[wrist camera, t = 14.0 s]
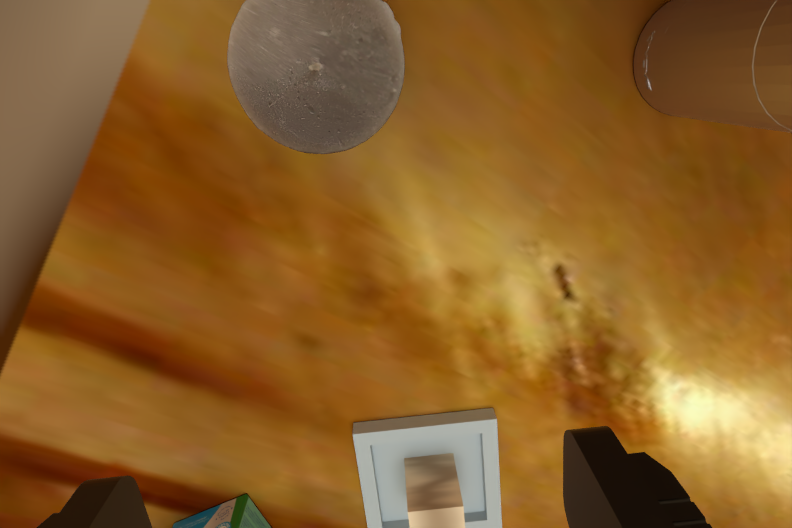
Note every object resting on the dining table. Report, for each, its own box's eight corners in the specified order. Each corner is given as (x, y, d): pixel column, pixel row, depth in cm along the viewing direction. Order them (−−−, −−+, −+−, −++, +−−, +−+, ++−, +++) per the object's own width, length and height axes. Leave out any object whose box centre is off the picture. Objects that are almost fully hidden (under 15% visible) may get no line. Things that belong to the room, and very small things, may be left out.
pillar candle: (328, 157, 43) (308, 195, 29) (245, 59, 41) (177, 48, 26) (421, 79, 42) (446, 79, 27) (340, -30, 39) (322, -91, 25)
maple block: (453, 452, 53) (463, 506, 47) (456, 491, 55) (466, 548, 48) (404, 458, 53) (407, 512, 47) (408, 496, 55) (412, 554, 48)
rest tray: (493, 407, 52) (496, 418, 50) (498, 515, 57) (502, 529, 55) (353, 422, 52) (352, 434, 51) (370, 529, 57) (370, 543, 55)
